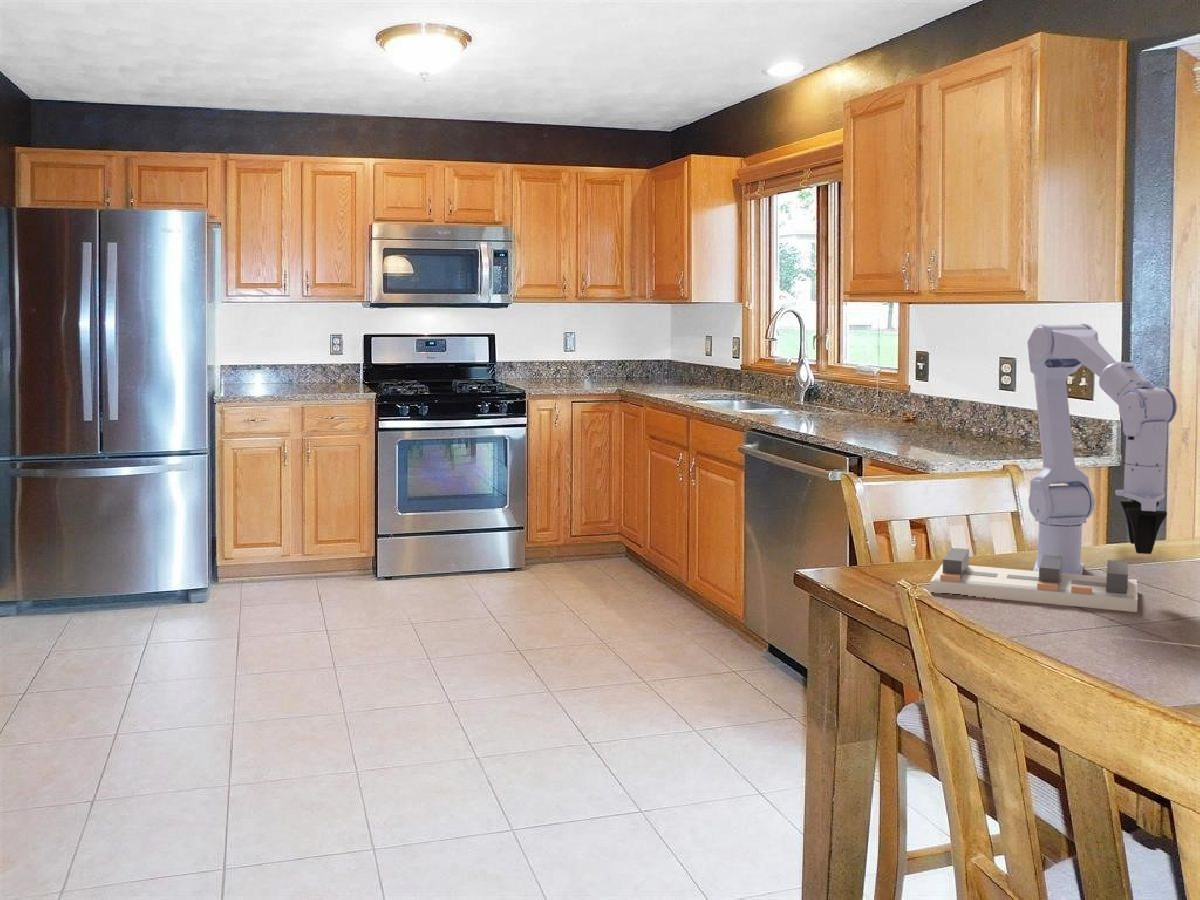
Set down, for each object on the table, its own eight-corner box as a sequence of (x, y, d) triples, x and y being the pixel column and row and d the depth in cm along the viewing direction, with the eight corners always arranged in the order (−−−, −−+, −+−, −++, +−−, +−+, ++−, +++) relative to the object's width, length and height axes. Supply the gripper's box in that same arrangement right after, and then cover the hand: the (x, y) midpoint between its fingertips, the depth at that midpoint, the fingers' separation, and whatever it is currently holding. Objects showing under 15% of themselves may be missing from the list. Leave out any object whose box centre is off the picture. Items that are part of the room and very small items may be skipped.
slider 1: (950, 564, 195) (951, 547, 195) (968, 566, 194) (969, 549, 194) (942, 576, 186) (942, 559, 186) (961, 578, 185) (961, 561, 185)
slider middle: (1042, 572, 189) (1043, 555, 188) (1061, 573, 188) (1062, 556, 187) (1038, 585, 180) (1039, 567, 180) (1058, 587, 179) (1059, 569, 178)
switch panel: (942, 574, 197) (942, 557, 197) (1136, 591, 184) (1137, 573, 184) (930, 592, 184) (930, 574, 184) (1137, 612, 171) (1138, 593, 171)
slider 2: (1106, 577, 185) (1107, 560, 184) (1126, 579, 183) (1127, 561, 183) (1105, 591, 176) (1106, 573, 175) (1126, 593, 174) (1127, 574, 174)
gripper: (1112, 457, 184) (1108, 538, 185) (1122, 469, 170) (1117, 556, 172) (1159, 459, 181) (1155, 540, 183) (1173, 471, 168) (1168, 559, 170)
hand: (1140, 548), depth 177 cm, fingers open, 7 cm apart
